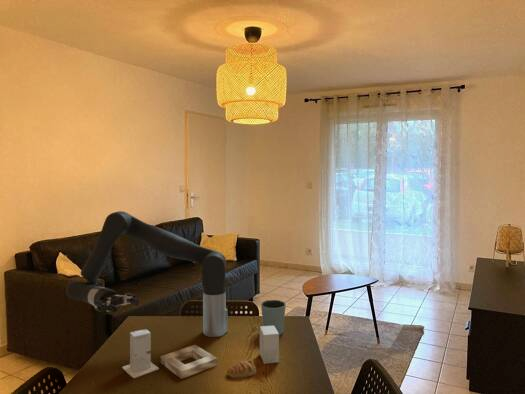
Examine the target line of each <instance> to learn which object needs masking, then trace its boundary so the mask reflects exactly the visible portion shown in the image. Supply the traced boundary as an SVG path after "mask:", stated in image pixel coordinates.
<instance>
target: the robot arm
mask: <svg viewBox="0 0 525 394" xmlns="http://www.w3.org/2000/svg"><path fill="white" fill-rule="evenodd" d="M122 235H126V236H130V237H132V238H135V239H137V240H139V241H140V242H141V241H142V243H144V244H145V245H147V246H148V247H149V248H150V249H151V250H153V251H155V252H157V253H158V254H159V253H160V254H162V255H164V256H167V257H169V258H174V259H176V260H177V259H178V260H184V261H190V262H192V263H194V264H197V265H199V266H201V285H202V286H201V287H202V315H203V316H202V325H203V326H202V334H203V335H204V336H205V337H209V338H218V337H222V336H224V335H225V334H226V333H228V331H229V330H228V329H229V328H228V327H229V324H228V318H229V317H228V316H229V313H228V311H229V310H228V309H227V308H226V307H227V306H226V305H227V304H226V303H227V302H226V300H227V299H226V298H227V297H226V295H227V293H226V291H227V290H226V288H227V287H226V267H227V259H226V256H225V255H224V254H223V253H222V252H219V251H216V250H215V249H210V248H207V247H204V246H201V245H199V244H196V243H194V242H193V241H190V240H188V239H186V238H184V237H182V236H179V235H178V234H175V233H173V232H171V231H169V230H166V229H164V228H161V227H158V226H155V225H153V224H149V223H146V222H144V221H143V220H141V219H139V218H137V217H135V216H134V215H132V214H130V213H128V212H125V211H121V210H120V211H115V212H112V213H110V214H108V215H107V216H106V218H105V220H104V223H103V225H102V228H101V231H100V233H99V236H98V239H97V240H96V243H95V245H94V247H93V249H92V251H91V252H90V254H89V256H88V258H87V259H86V262H85V263H84V265H83V267H82V269H81V271H80V276H81V277H82V278H83V279H85V280H86V282H85V281H80V280H72V281H70V282H69V283H68V284H67V286H66V288H65V289H66V290H65V293H66V296H67V297H68V298H70V299H71V300H76V301H81V302H84V303H87V304H89V305H92V306H94V307H93V308H94V310H95V311H96V312H99V313H105V312H111V313H116V314H117V313H118V307H119V306H127V305H129V304H131V305H133V306H139V299H137V294H133V293H130V292H125V293H124V295H123V294H122V295H121V294H118V293H117V292H116V291H115V290H113V289H110V288H107V287H104V286H97V283H98V279H99V277H100V275H101V274H102V271H103V270H104V268H105V266H106V264H107V262H108V258H109V255H110V253H111V251H112V248H113V246H114V244H115V243H116V241H117V240H118V239H119V238H120V237H121V236H122Z"/></svg>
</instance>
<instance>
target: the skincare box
mask: <svg viewBox="0 0 525 394" xmlns="http://www.w3.org/2000/svg"><path fill="white" fill-rule="evenodd" d="M151 339H152V334H151V332H150V331H149V330H148V329H147V328H145V329H139V330H135V331H131V332H129V364H130V367H131V369H132V370H133V372H135V371H139V370H143V369H147V368H150V367H151V362H152V361H151V360H152V354H151V353H152V352H151V351H152V340H151Z"/></svg>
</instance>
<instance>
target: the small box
mask: <svg viewBox="0 0 525 394" xmlns="http://www.w3.org/2000/svg"><path fill="white" fill-rule="evenodd" d="M259 355H260V358H261V360H262V363H263V364H264V365H266V364H276V363H280V335H279V333H278V331H277V330H276V328H275V326H263V325H262V326H261V325H260V326H259Z"/></svg>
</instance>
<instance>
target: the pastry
mask: <svg viewBox="0 0 525 394" xmlns="http://www.w3.org/2000/svg"><path fill="white" fill-rule="evenodd" d="M256 374H257V368H256V366H255V362H254V361H253V359H250V358H249V359H247V360H240V361H238V362H237V363H235V364H234V365H232V366H230V367H228V368H227V372H226V375H227V376H228V377H230V378H232V379H236V378H241V379H242V378H246V377H251V376H254V375H256Z"/></svg>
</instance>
